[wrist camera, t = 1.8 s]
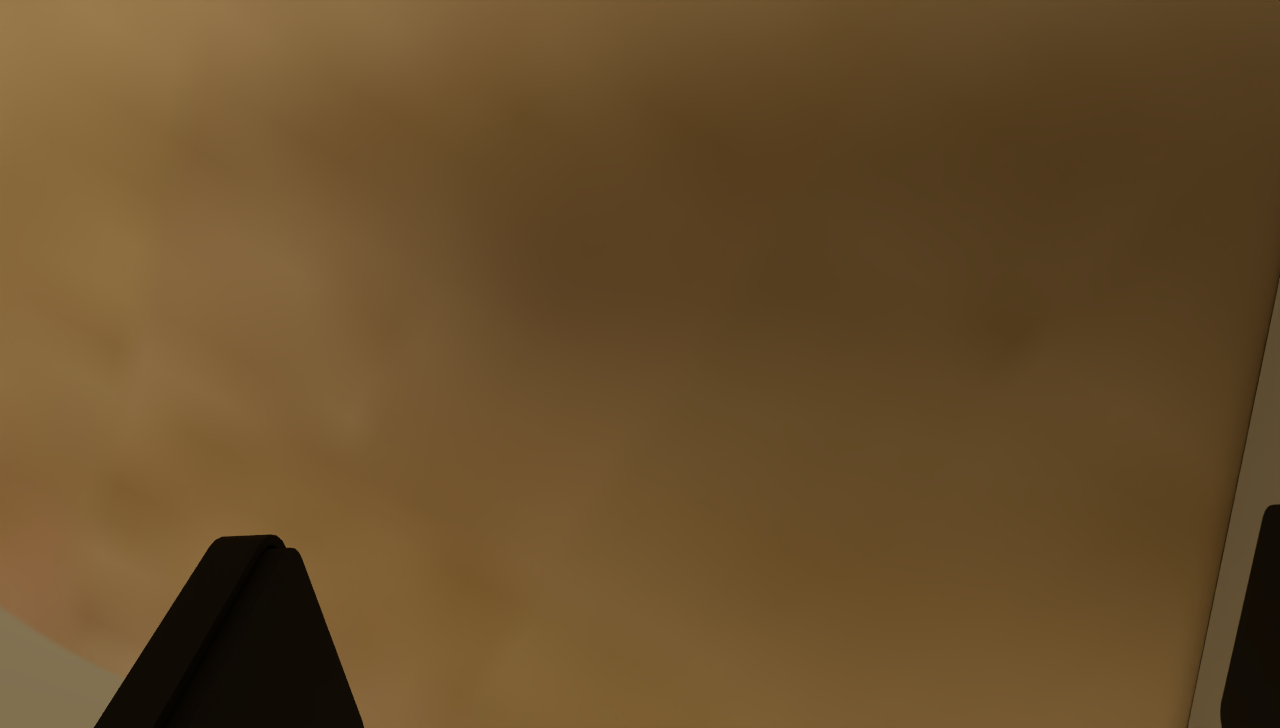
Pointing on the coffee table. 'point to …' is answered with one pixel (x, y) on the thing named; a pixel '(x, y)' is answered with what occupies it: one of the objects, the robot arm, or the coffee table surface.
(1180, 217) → the coffee table surface
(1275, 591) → the robot arm
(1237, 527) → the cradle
